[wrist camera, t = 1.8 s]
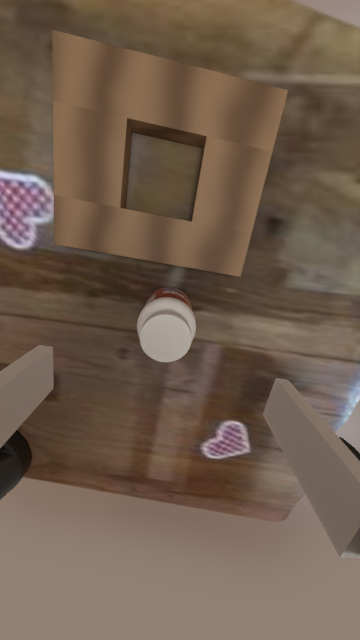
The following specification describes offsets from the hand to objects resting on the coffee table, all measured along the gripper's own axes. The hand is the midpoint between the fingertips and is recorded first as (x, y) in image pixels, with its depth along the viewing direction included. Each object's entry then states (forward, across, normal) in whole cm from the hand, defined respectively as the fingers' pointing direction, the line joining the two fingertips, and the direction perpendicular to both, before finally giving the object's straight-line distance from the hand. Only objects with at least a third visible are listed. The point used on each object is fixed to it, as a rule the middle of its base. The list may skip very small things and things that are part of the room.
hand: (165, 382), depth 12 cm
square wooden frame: (+18, -3, +15) cm, 23 cm away
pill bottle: (+18, 0, 0) cm, 18 cm away
